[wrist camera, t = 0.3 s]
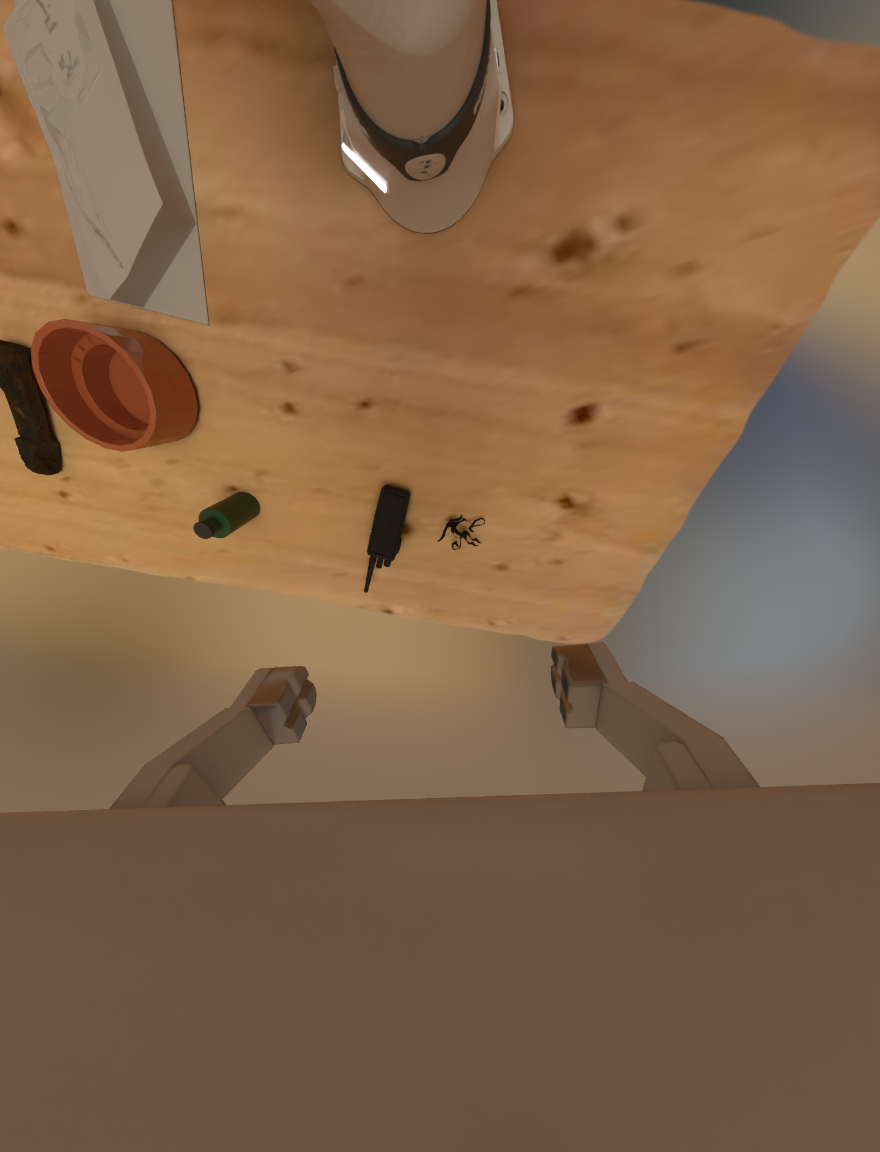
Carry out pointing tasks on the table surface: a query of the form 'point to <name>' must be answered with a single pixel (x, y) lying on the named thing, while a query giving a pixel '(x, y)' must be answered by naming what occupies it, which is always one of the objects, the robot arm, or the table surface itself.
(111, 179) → the ramp
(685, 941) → the robot arm
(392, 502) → the walkie-talkie
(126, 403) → the pot
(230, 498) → the plant food bottle
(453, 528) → the creature
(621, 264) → the table surface
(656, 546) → the table surface
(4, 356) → the dark brown rough bar
